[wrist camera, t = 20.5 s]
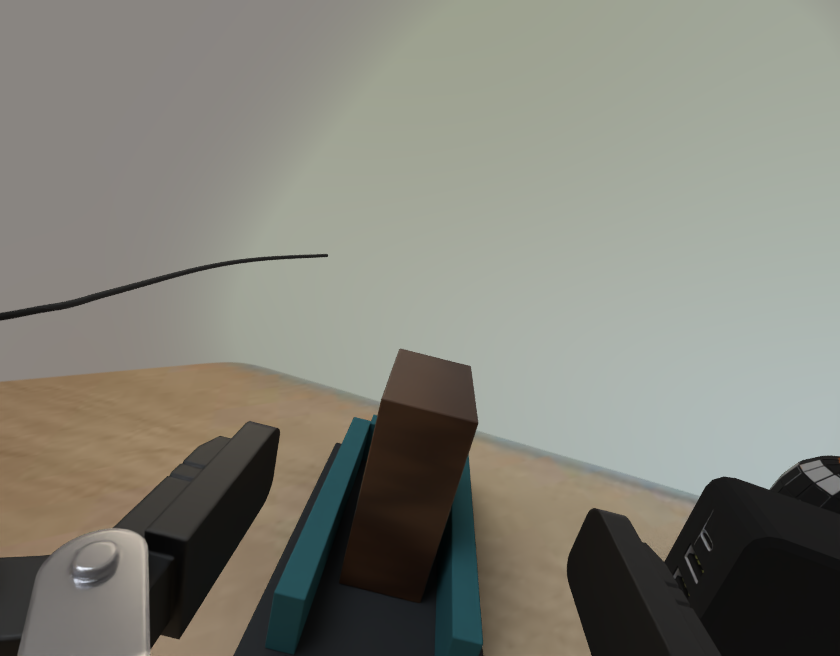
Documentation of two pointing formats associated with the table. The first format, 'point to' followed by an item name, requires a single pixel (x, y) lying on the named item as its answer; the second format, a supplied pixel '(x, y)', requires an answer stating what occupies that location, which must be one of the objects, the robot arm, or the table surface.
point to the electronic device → (761, 571)
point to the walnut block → (411, 475)
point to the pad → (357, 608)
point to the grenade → (813, 482)
